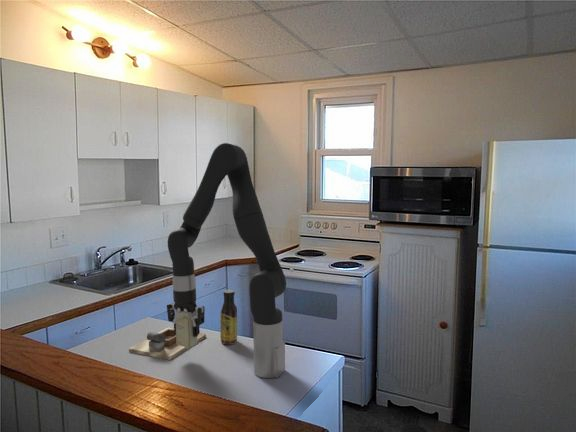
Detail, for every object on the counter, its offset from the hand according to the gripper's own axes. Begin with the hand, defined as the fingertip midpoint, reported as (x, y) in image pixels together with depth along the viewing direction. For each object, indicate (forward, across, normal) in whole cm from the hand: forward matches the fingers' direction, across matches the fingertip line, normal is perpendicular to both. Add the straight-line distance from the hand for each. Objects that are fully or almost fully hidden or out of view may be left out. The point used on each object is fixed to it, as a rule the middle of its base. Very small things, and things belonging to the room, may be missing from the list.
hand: (186, 334), depth 153 cm
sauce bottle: (+9, -6, -18) cm, 21 cm away
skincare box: (+4, 0, 0) cm, 4 cm away
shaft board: (+8, +14, -9) cm, 19 cm away
